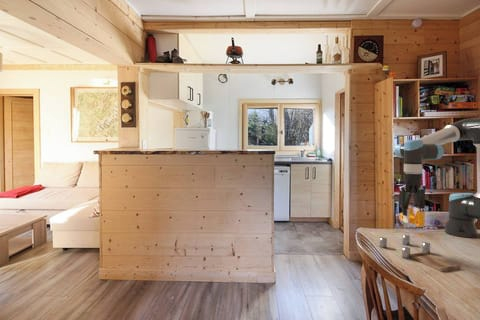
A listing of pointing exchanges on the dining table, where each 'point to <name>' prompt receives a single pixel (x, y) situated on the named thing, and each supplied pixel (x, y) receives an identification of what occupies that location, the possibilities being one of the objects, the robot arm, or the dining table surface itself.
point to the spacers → (405, 249)
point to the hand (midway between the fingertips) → (411, 221)
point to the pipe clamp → (416, 217)
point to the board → (433, 262)
